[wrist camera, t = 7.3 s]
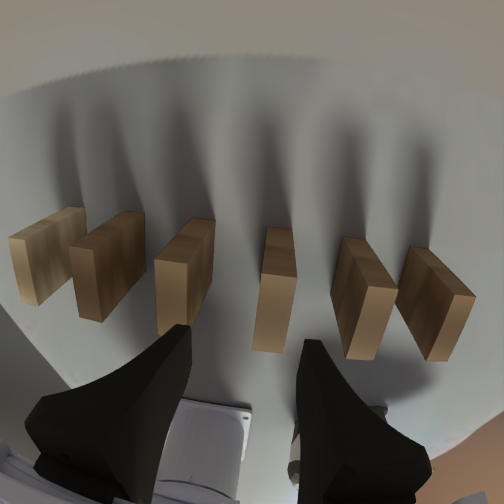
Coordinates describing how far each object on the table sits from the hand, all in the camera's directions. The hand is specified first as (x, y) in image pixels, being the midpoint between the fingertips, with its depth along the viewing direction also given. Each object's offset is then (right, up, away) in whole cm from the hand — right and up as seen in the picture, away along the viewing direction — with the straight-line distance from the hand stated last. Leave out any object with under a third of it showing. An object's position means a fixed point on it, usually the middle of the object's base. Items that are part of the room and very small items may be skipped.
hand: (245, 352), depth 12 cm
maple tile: (-13, +5, +10) cm, 17 cm away
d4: (-3, +4, +9) cm, 11 cm away
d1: (+12, +2, +9) cm, 15 cm away
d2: (+7, +3, +9) cm, 12 cm away
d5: (-8, +5, +10) cm, 13 cm away
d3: (+2, +4, +9) cm, 10 cm away
